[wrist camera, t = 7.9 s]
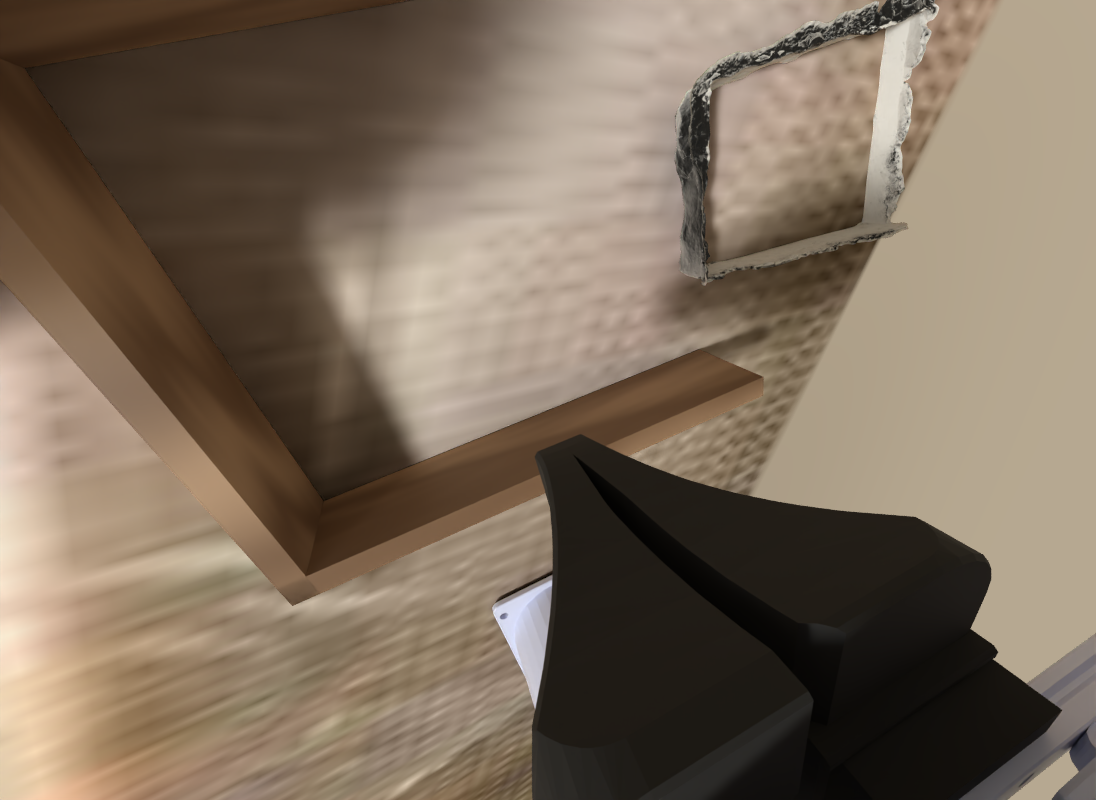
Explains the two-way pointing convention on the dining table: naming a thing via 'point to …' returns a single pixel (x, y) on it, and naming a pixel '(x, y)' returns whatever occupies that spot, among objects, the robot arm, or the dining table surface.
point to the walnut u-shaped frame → (201, 370)
